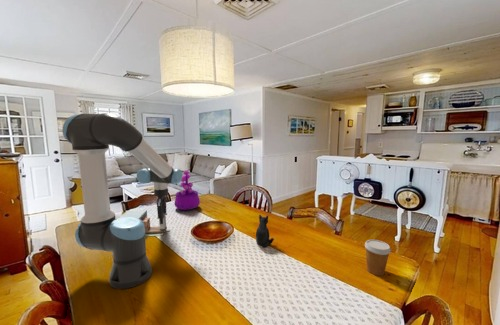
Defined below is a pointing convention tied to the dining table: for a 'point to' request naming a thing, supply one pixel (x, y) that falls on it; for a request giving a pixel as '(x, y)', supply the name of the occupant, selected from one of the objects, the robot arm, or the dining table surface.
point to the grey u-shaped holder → (152, 229)
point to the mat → (154, 234)
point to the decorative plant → (186, 195)
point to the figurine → (263, 232)
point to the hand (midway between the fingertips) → (162, 227)
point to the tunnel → (137, 215)
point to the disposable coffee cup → (377, 256)
